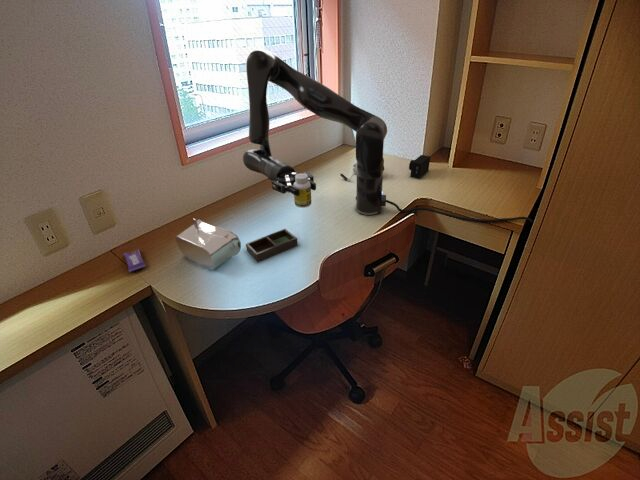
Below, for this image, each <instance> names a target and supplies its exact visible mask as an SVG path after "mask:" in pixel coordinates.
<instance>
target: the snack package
mask: <svg viewBox="0 0 640 480" xmlns="http://www.w3.org/2000/svg"><path fill="white" fill-rule="evenodd" d="M140 250H141V249H140V248H136V249H133V250H130V251H127V252H124V253H123V254H122V255H123V257H124V258H125V262H126V264H127V268H128V273H131V272H134V271H137V270H139V269H143V268H145V267H147V264H145V262H144V260H143V259H144V258H143V257H142V254H141V252H140Z"/></svg>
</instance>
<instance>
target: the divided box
mask: <svg viewBox="0 0 640 480" xmlns="http://www.w3.org/2000/svg"><path fill="white" fill-rule="evenodd" d="M298 246H299V244H298V238H297V237H296V236H295V235H294V234H292V232H290V231H289V230H288V229H286V228H283V229H280V230H278V231H275V232H272V233H270V234H267V235H264V236H262V237H260V238H257V239H254V240H252V241H249V242H246V243H245V249H246V252H247V253H248V254H249V255H250V256H251V257H252V258H253V259H254V260H255V261H256V263H260V262H264V261H265V260H268V259H270V258H273V257H275V256H278V255H279V254H282V253H284V252H287V251H289V250H291V249H292V250H293V249H294V248H297V247H298Z"/></svg>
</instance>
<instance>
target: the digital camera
mask: <svg viewBox="0 0 640 480" xmlns="http://www.w3.org/2000/svg"><path fill="white" fill-rule="evenodd" d="M430 162H431V156H430V155H424V154H420V155H419V156H417V158H415V159H411V160H410V162H409V164H408V170H409V171H410V174H409V175H410V177H409V178H413V179H417V180H420V179H422V177H423V176H424V175H426V174H427V173H428V172H429V170H430Z"/></svg>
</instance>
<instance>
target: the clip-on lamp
mask: <svg viewBox="0 0 640 480" xmlns="http://www.w3.org/2000/svg"><path fill="white" fill-rule="evenodd" d="M384 171H385V166H384V167H383V172H384ZM352 172H353V173H352V175H351V177H350V179H348V177H347V176H346V175H345V174H344V173H340V172H339V174H340V177H341V178H342V179H343V180H345V181H348V182H349V181H351V180H352V178H353V177H354V176H357V162H355V163H354V164H353V166H352Z"/></svg>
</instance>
